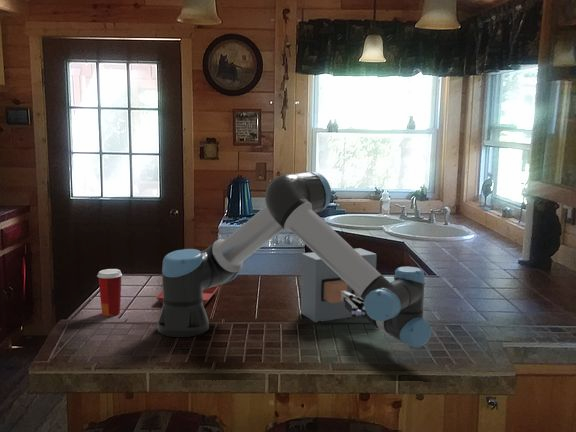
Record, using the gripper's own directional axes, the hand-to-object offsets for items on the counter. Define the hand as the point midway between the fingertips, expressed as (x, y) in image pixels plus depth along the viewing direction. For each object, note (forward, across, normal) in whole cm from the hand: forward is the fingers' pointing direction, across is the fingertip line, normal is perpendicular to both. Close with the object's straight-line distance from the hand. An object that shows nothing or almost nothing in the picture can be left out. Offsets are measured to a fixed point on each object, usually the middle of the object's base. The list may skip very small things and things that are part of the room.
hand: (342, 295), depth 191 cm
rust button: (+4, 0, -3) cm, 5 cm away
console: (+12, +5, -10) cm, 16 cm away
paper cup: (+41, -62, -10) cm, 75 cm away
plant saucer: (+47, -35, -10) cm, 59 cm away
